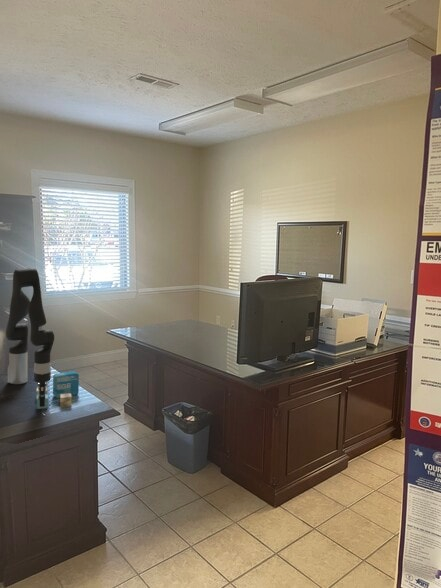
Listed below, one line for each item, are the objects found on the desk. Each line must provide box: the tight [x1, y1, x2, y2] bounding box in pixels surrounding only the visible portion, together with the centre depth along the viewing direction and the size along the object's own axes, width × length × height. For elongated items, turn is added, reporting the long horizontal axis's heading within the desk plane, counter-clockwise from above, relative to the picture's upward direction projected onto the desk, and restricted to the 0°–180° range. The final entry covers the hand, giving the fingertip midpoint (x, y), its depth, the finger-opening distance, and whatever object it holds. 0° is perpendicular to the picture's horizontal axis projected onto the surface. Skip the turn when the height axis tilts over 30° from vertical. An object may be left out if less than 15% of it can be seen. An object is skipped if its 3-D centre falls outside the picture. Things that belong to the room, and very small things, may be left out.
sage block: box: [36, 387, 48, 401], centre depth 219 cm, size 5×5×5 cm
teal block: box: [36, 394, 49, 410], centre depth 209 cm, size 5×5×5 cm
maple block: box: [59, 393, 72, 408], centre depth 212 cm, size 5×5×5 cm
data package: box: [52, 370, 80, 399], centre depth 224 cm, size 12×4×12 cm, turn 127°
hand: (42, 403), depth 209 cm, fingers open, 8 cm apart
